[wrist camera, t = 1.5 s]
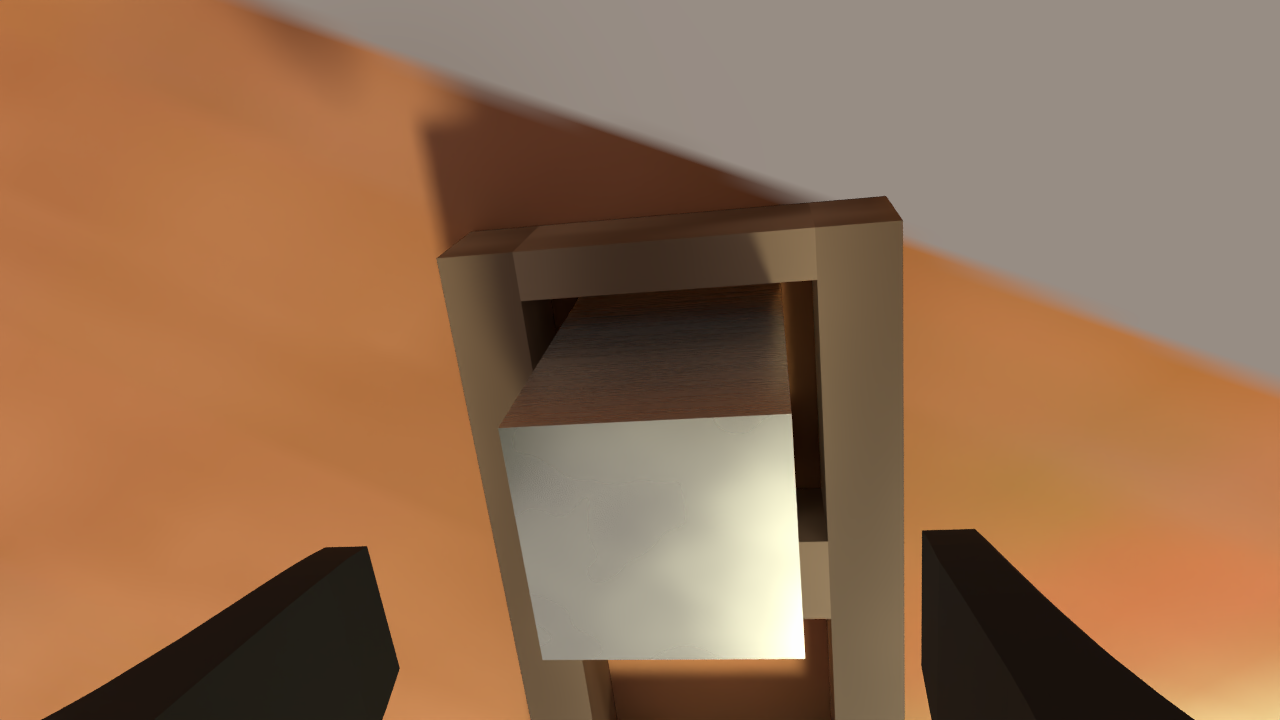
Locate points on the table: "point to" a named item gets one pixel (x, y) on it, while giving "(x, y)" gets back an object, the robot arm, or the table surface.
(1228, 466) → the table surface
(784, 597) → the metal peg
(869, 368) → the beige slotted frame
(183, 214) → the table surface
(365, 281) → the table surface
